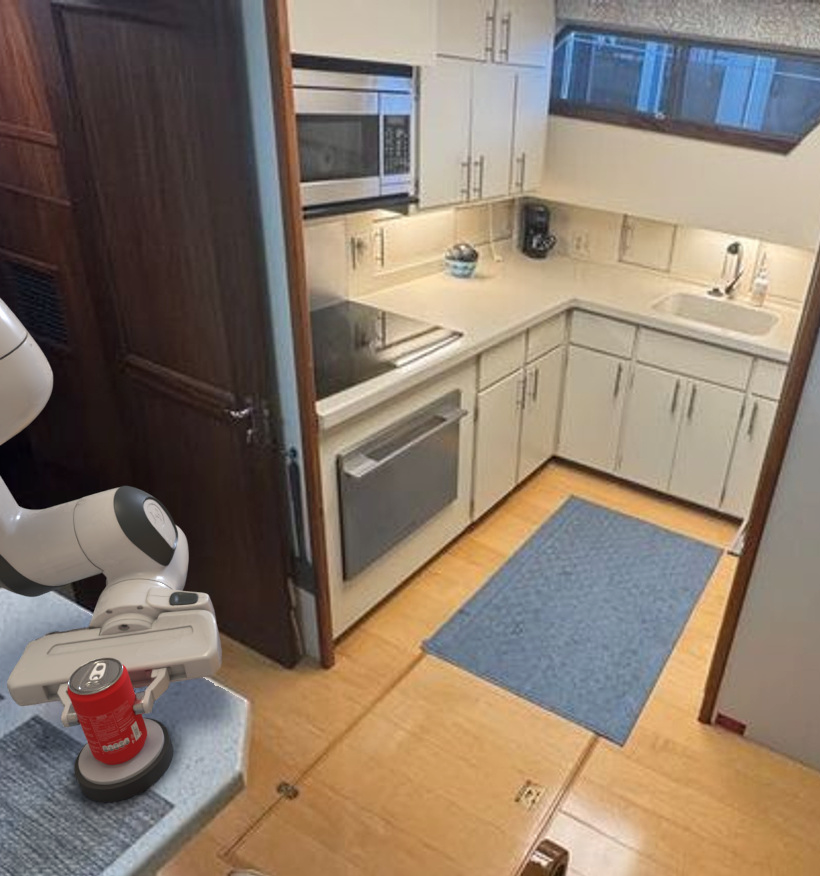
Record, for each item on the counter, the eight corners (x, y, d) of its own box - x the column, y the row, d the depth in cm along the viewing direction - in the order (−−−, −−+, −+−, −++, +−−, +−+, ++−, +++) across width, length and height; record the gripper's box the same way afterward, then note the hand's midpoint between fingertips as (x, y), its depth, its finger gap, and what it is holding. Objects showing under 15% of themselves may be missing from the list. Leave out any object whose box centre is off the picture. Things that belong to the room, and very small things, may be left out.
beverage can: (87, 772, 75) (56, 699, 69) (103, 730, 79) (75, 658, 73) (142, 764, 76) (116, 692, 70) (154, 724, 80) (132, 652, 74)
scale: (71, 757, 79) (64, 741, 77) (160, 717, 85) (155, 701, 83) (89, 818, 74) (82, 802, 72) (183, 771, 79) (178, 755, 78)
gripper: (23, 616, 80) (-24, 717, 69) (222, 591, 86) (208, 679, 75) (39, 654, 83) (-4, 756, 72) (230, 627, 90) (217, 716, 79)
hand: (107, 716), depth 74 cm, fingers closed on beverage can, 5 cm apart
